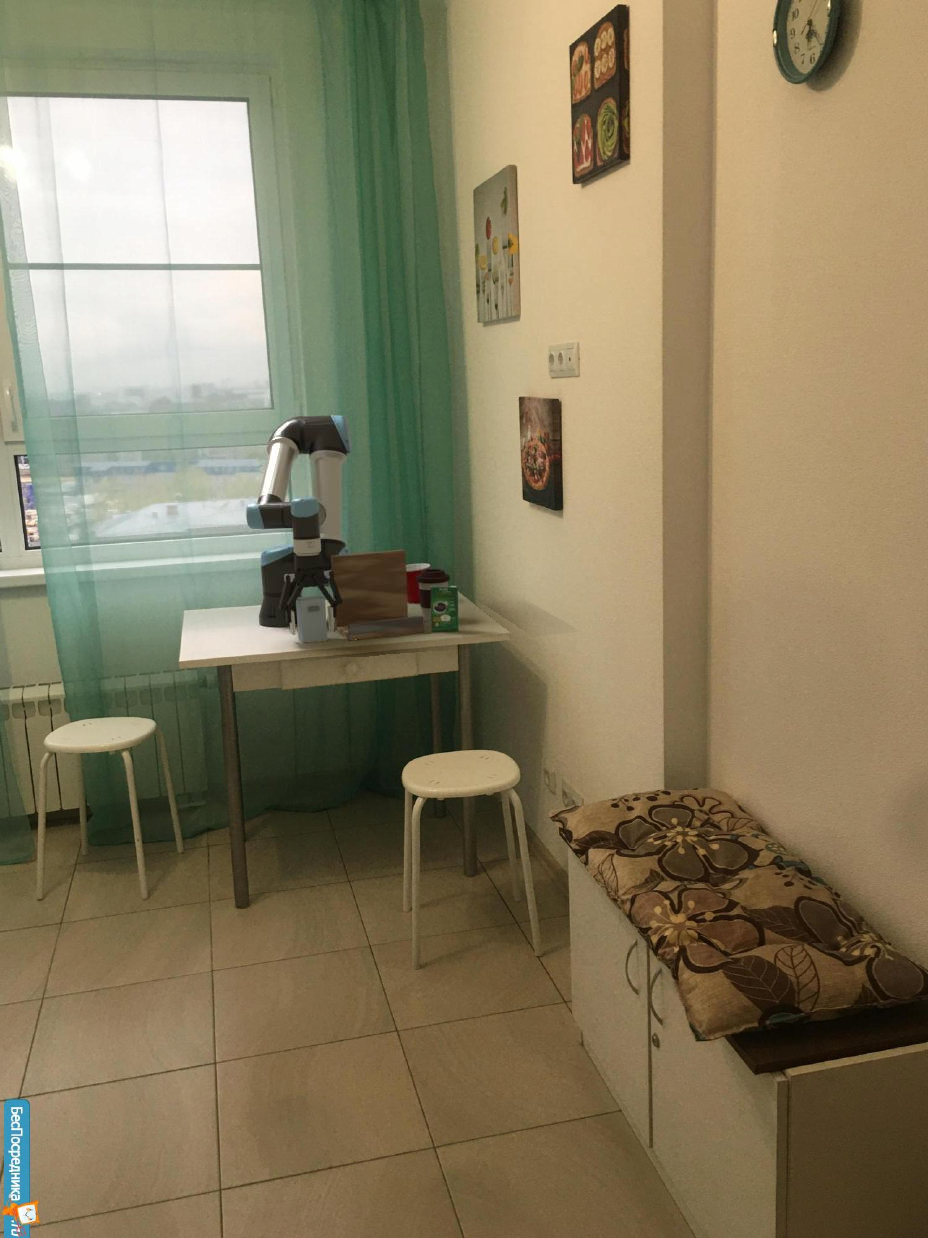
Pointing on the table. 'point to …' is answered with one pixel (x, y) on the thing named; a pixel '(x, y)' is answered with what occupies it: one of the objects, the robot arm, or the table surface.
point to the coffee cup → (425, 582)
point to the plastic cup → (414, 581)
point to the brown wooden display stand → (373, 595)
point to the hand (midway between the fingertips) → (312, 631)
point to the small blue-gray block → (311, 619)
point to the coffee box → (444, 608)
